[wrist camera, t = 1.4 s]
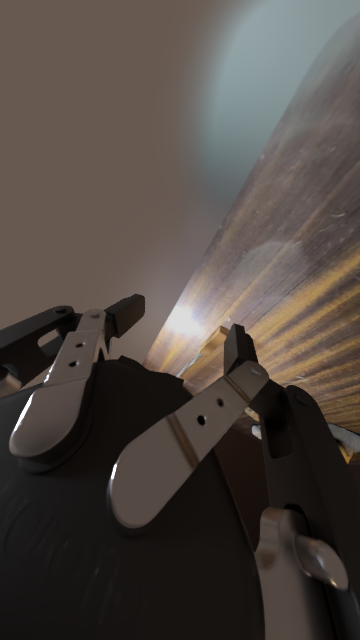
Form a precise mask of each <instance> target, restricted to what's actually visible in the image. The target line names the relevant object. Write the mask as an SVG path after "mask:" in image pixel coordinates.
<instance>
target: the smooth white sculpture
mask: <svg viewBox="0 0 360 640" xmlns="http://www.w3.org/2000/svg"><path fill="white" fill-rule="evenodd" d="M252 433H253V434H254V435H255V436H256V437H259V439H261V431H260V426H259V425H258V426H253V427H252Z"/></svg>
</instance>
